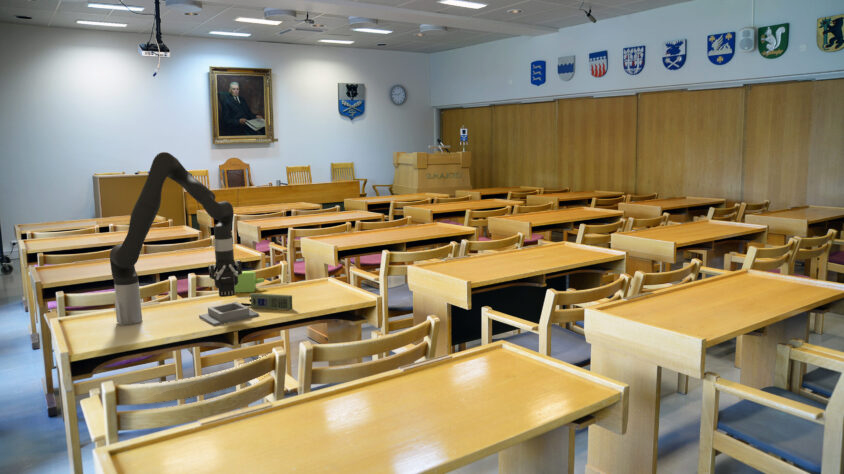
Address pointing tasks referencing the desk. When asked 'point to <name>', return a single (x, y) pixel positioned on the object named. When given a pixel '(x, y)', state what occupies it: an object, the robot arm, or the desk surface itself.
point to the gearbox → (247, 282)
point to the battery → (227, 284)
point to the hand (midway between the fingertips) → (226, 286)
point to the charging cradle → (227, 313)
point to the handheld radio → (270, 301)
